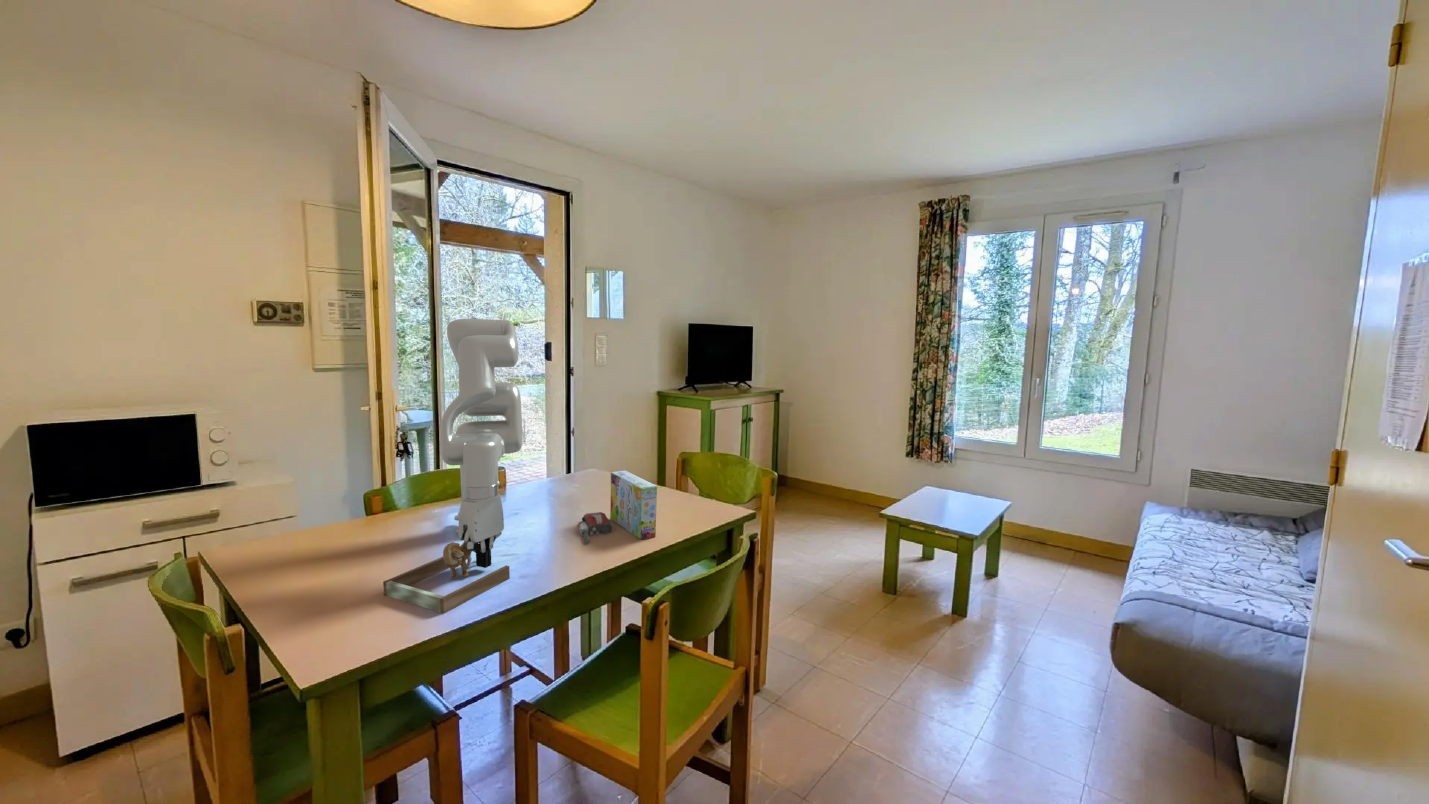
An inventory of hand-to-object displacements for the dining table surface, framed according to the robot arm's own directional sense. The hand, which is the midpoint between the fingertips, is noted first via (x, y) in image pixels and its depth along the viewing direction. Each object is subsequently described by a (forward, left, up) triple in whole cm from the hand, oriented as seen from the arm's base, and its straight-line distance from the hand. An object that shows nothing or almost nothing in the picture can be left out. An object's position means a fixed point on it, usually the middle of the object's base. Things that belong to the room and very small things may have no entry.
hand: (483, 565), depth 133 cm
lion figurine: (-2, -3, -1) cm, 4 cm away
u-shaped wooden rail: (0, -10, -1) cm, 10 cm away
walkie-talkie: (+8, +34, -2) cm, 35 cm away
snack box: (+16, +41, -1) cm, 44 cm away
